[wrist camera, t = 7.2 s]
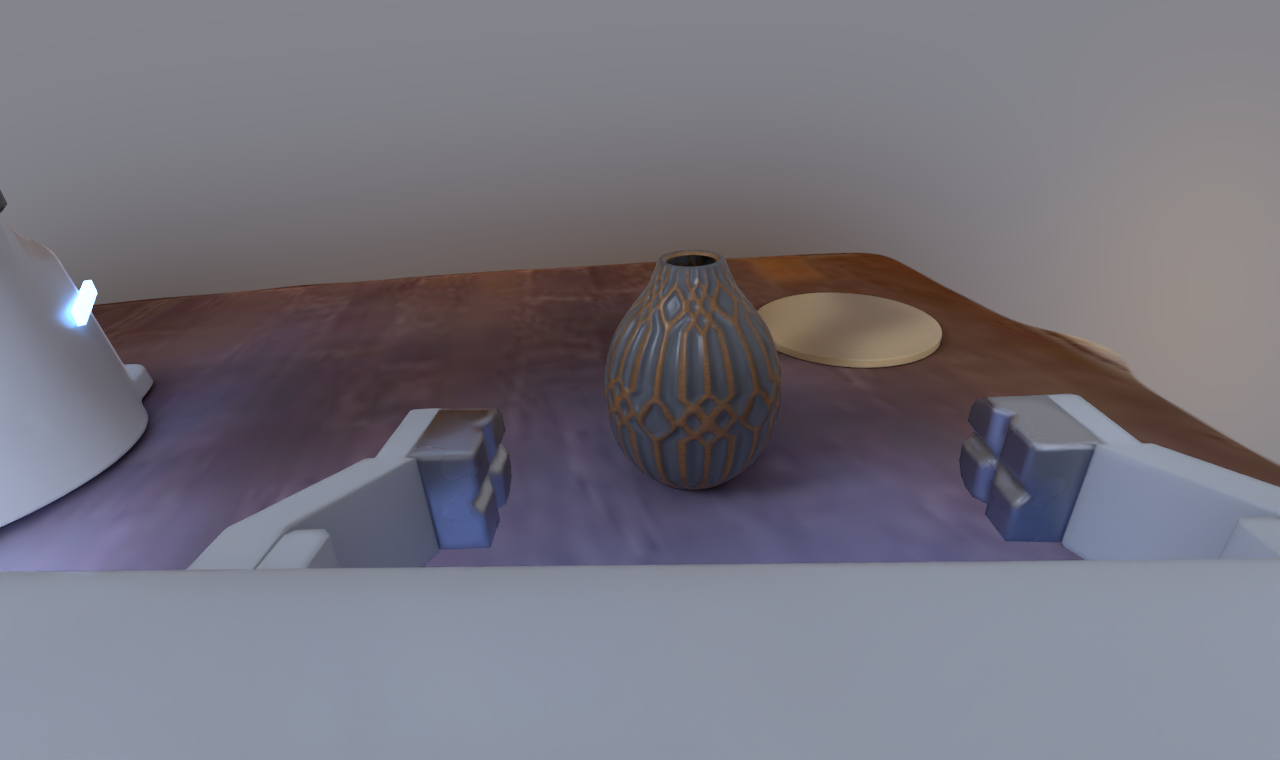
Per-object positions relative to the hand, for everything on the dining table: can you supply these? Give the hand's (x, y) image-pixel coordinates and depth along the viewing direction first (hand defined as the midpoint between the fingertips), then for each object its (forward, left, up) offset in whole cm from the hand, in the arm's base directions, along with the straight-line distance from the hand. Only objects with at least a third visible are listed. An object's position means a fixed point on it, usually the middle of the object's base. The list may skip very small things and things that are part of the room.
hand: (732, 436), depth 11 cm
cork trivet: (+5, +27, -9) cm, 29 cm away
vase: (-2, +12, -9) cm, 15 cm away
